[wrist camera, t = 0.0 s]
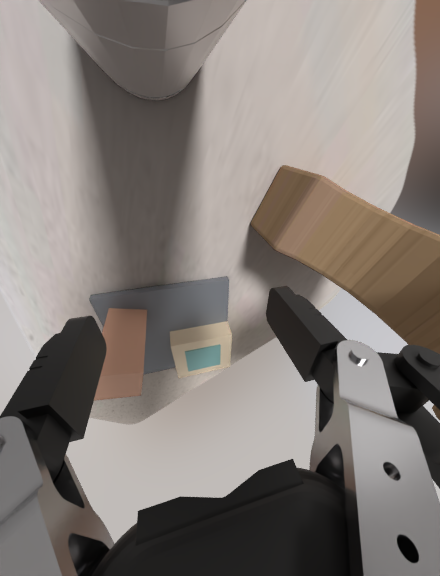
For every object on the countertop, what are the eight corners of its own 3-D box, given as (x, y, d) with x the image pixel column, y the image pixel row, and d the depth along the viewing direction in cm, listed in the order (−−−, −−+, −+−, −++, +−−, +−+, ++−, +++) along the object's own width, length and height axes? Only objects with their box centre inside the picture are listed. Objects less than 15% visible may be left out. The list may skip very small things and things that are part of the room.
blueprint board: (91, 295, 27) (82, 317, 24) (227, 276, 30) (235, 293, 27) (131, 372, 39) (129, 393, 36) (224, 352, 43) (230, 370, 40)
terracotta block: (109, 332, 30) (93, 400, 23) (108, 308, 28) (90, 376, 20) (144, 332, 32) (140, 395, 24) (147, 309, 29) (143, 372, 22)
